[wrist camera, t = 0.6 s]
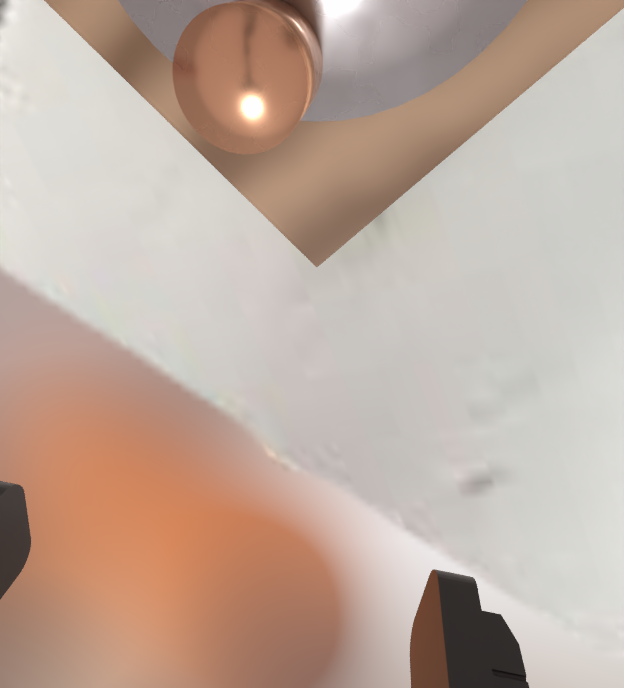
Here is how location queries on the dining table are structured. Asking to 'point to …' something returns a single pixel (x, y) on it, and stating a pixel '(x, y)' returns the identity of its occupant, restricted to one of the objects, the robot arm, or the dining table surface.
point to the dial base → (352, 120)
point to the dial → (309, 58)
